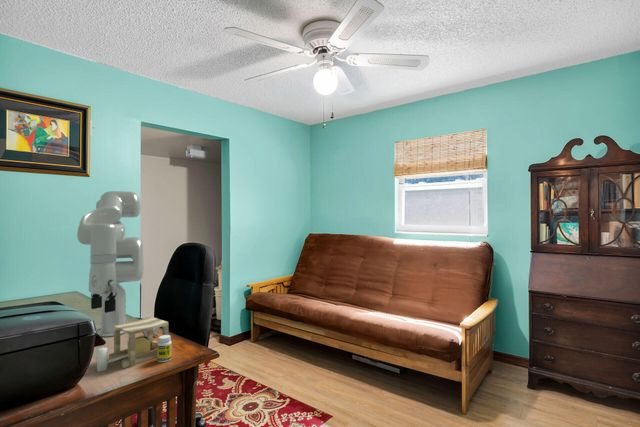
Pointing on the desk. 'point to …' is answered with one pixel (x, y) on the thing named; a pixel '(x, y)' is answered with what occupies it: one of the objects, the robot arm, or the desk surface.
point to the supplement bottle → (164, 348)
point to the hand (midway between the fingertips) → (103, 309)
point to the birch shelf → (133, 329)
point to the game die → (155, 332)
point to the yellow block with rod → (140, 347)
